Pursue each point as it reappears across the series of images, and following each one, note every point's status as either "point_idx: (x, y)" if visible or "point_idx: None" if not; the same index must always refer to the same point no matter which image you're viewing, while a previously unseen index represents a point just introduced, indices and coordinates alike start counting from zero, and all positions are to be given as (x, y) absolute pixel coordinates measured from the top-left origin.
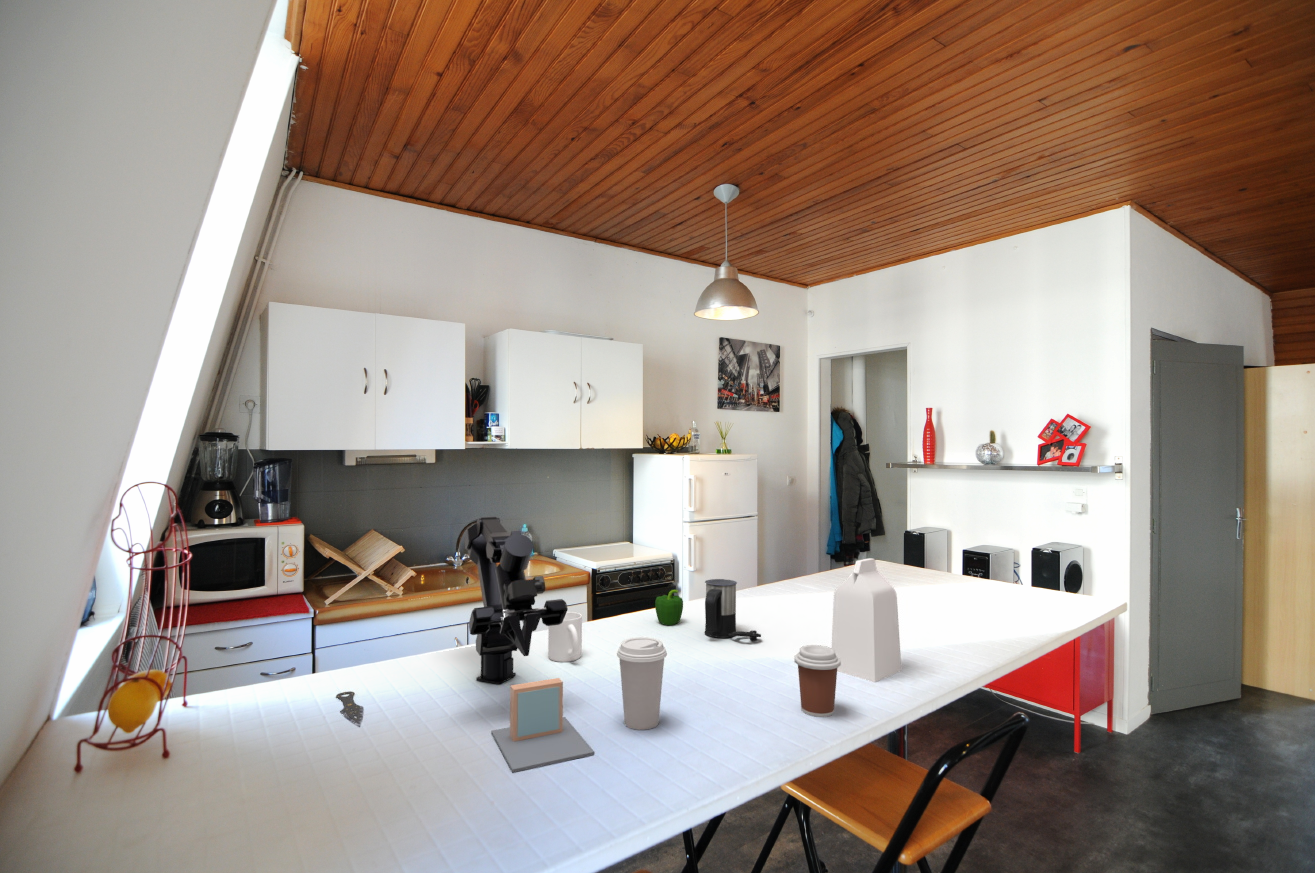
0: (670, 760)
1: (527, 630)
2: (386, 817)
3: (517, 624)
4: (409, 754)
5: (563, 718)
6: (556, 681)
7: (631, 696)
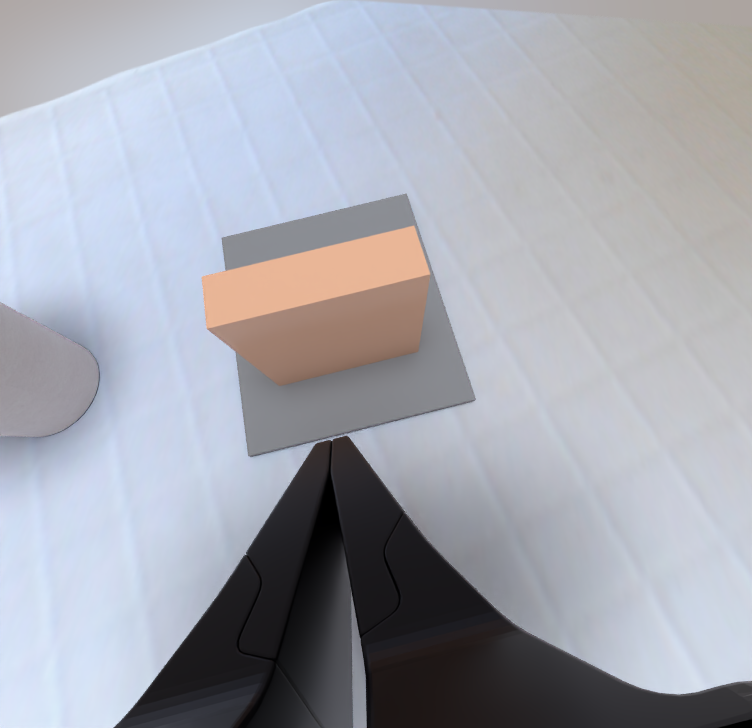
0: (86, 198)
1: (267, 605)
2: (617, 98)
3: (421, 665)
4: (676, 314)
5: (255, 444)
6: (227, 287)
7: (4, 308)
